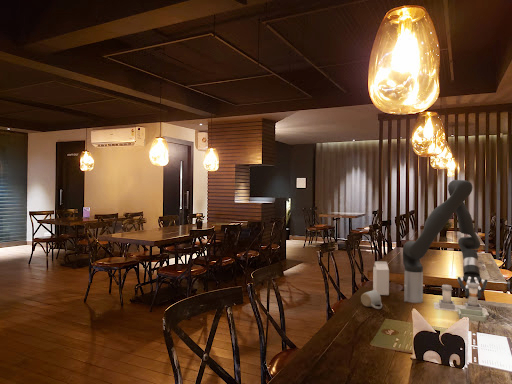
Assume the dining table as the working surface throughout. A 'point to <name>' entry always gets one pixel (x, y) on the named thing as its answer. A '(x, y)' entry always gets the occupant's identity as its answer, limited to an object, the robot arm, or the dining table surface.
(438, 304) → the fuse board
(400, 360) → the dining table surface
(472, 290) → the ball
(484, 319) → the parts tray
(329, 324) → the dining table surface
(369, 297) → the ceramic mug
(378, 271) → the milk carton
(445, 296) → the fuse
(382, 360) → the dining table surface
